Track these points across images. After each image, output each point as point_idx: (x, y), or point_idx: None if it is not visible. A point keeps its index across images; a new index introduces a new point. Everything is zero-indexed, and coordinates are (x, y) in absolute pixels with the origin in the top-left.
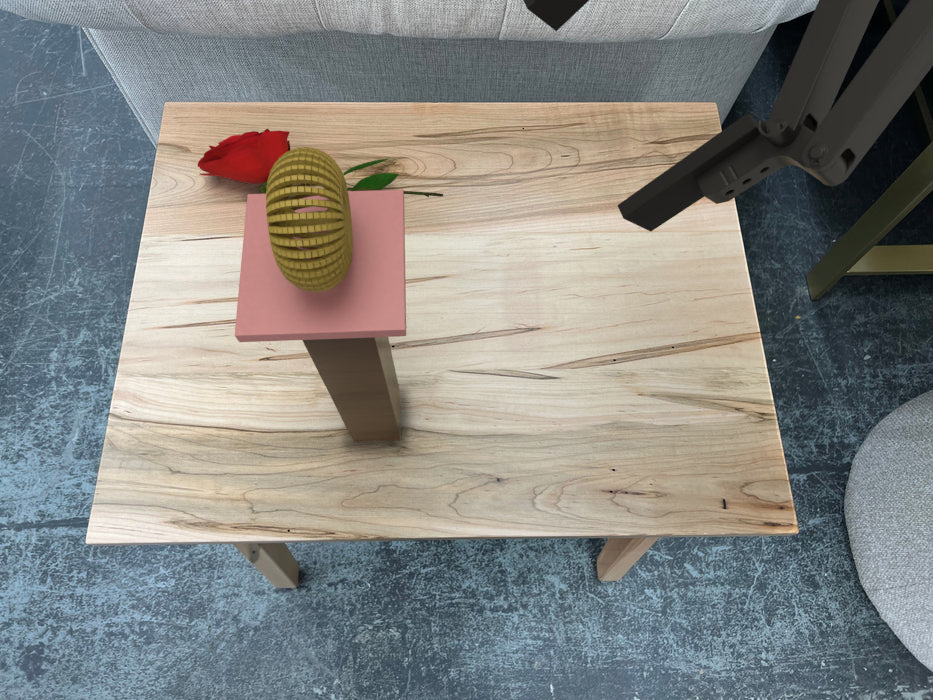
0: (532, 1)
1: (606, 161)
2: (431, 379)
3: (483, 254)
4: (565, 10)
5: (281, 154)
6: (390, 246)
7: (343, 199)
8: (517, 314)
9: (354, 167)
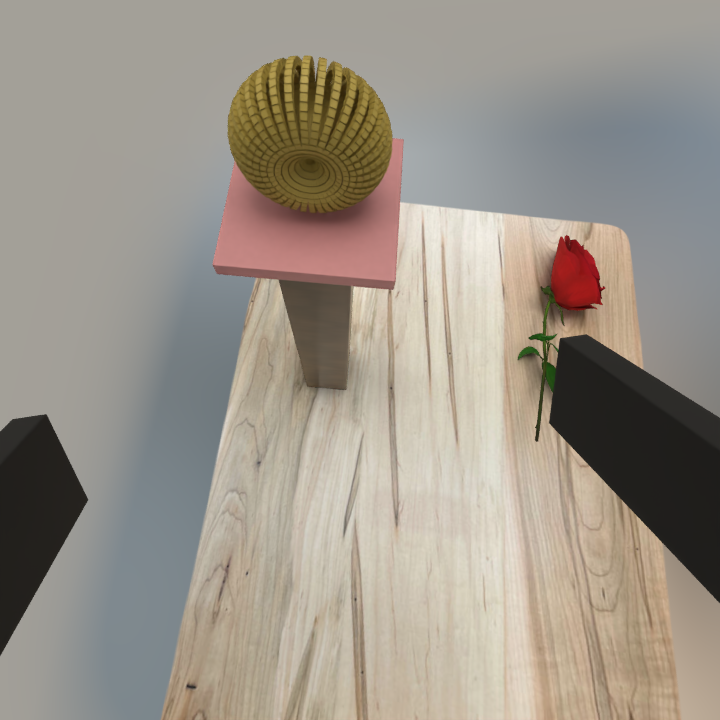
0: (573, 344)
1: (599, 645)
2: (356, 416)
3: (480, 481)
4: (574, 425)
5: (576, 298)
6: (319, 260)
7: (333, 172)
8: (413, 505)
9: None
